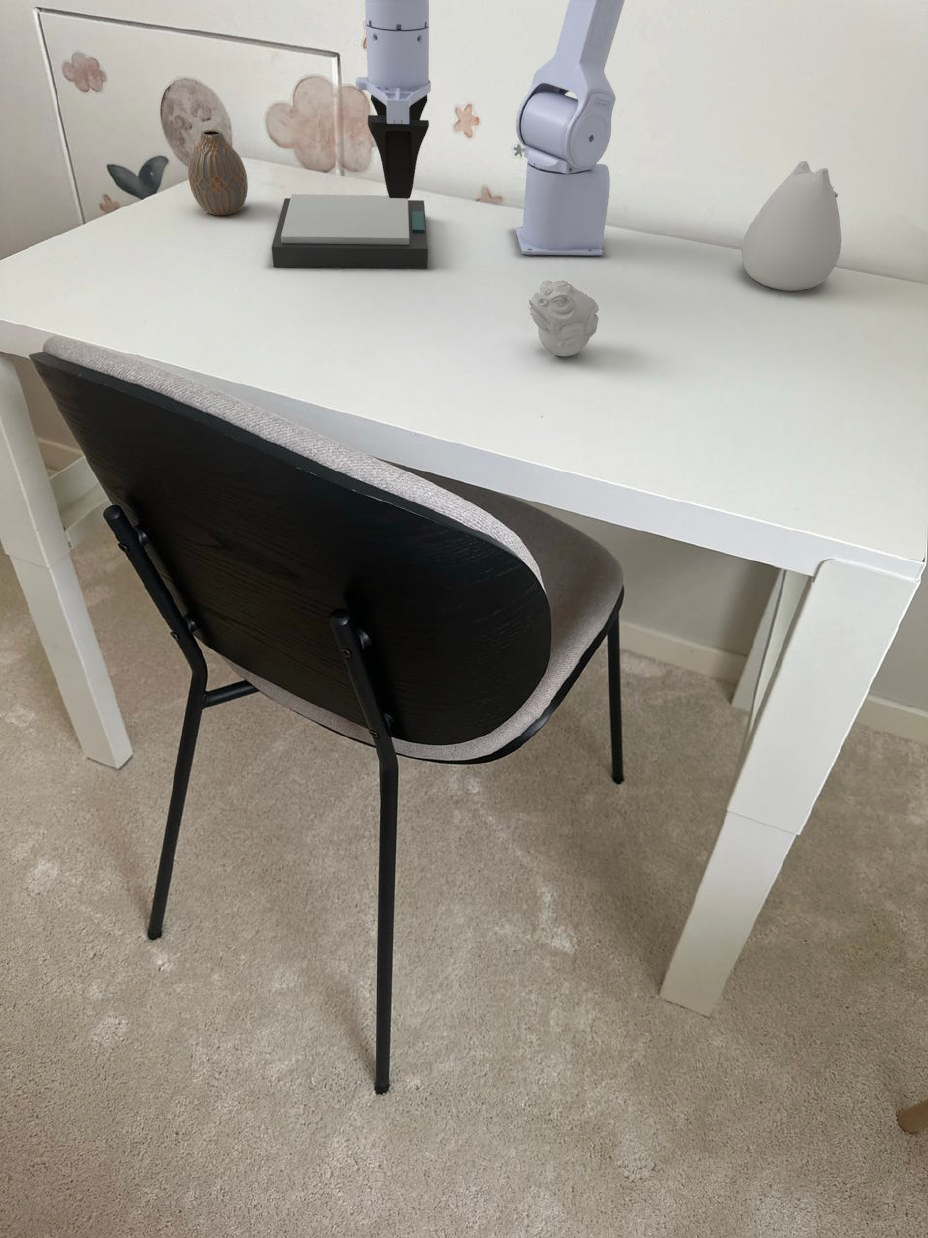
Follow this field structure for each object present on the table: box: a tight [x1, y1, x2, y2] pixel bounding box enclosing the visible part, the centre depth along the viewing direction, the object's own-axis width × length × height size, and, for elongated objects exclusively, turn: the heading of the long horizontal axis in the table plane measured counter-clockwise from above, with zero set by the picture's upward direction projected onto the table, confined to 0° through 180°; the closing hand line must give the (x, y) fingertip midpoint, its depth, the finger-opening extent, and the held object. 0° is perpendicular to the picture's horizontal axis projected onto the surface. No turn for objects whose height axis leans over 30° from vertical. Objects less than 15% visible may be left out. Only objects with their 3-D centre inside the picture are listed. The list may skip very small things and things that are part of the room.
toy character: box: [741, 160, 842, 292], centre depth 96 cm, size 10×10×12 cm
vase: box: [188, 129, 249, 216], centre depth 108 cm, size 7×7×9 cm
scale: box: [271, 193, 429, 270], centre depth 103 cm, size 17×16×3 cm
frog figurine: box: [528, 279, 600, 357], centre depth 83 cm, size 6×7×7 cm
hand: (399, 184), depth 90 cm, fingers open, 7 cm apart
